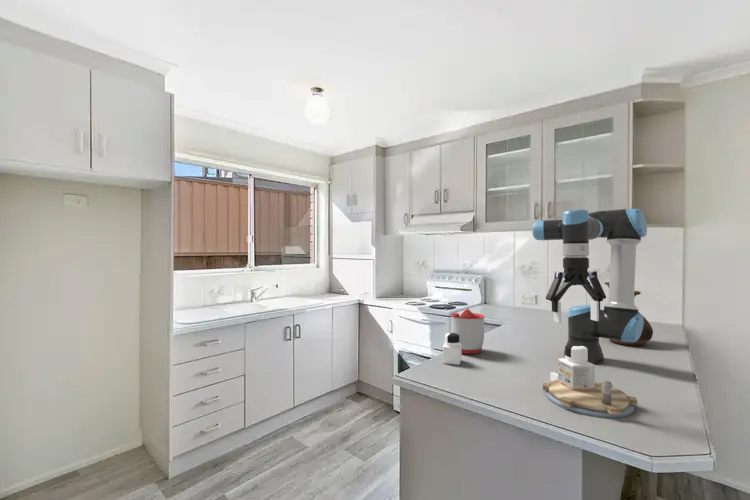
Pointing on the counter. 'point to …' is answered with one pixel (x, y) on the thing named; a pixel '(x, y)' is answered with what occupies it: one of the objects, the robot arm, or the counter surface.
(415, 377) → the counter surface
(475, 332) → the citrus juicer
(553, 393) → the index wheel
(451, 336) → the medicine bottle
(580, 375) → the container
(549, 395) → the wheel base
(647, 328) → the jug
